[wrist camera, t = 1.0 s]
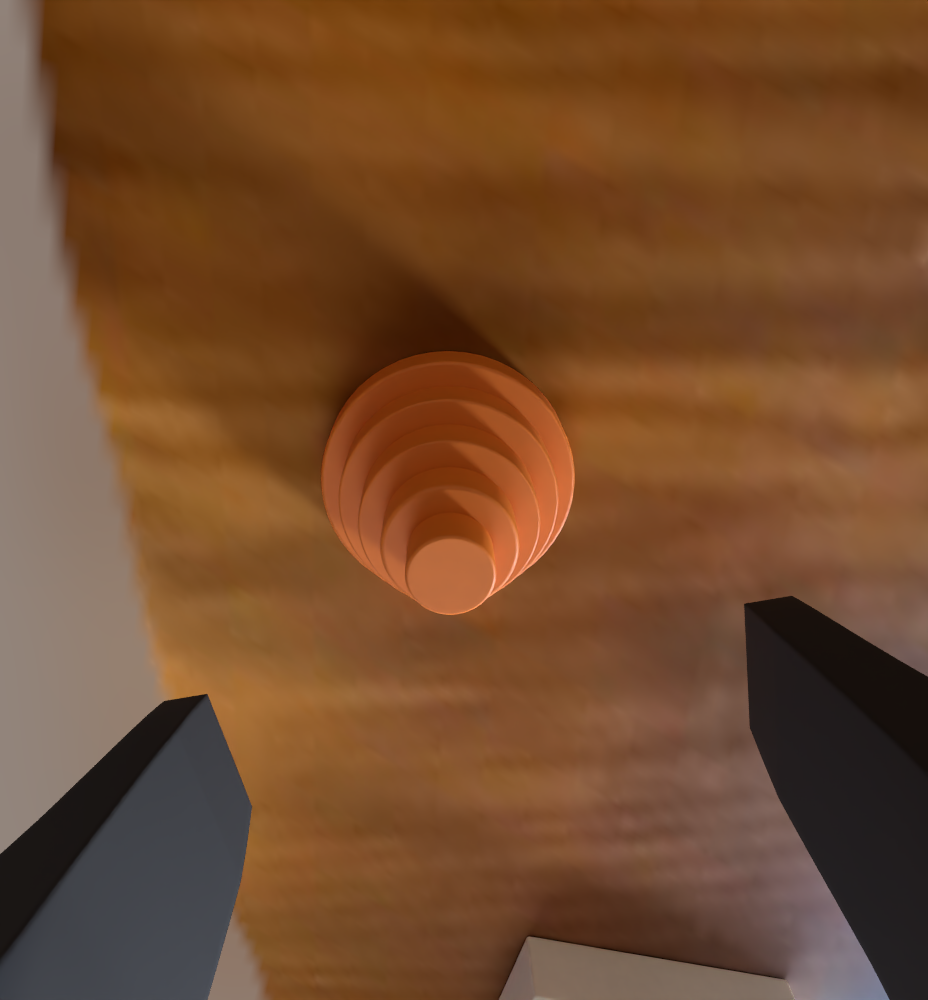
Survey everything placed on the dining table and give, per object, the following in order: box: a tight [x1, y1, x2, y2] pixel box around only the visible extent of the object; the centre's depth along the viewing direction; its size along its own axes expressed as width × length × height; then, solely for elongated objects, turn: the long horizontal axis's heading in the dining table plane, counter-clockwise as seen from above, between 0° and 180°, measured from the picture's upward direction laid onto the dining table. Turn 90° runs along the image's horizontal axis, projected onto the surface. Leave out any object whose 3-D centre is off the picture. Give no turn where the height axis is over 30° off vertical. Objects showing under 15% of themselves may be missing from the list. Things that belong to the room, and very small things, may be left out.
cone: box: [321, 351, 574, 615], centre depth 16 cm, size 6×6×5 cm
